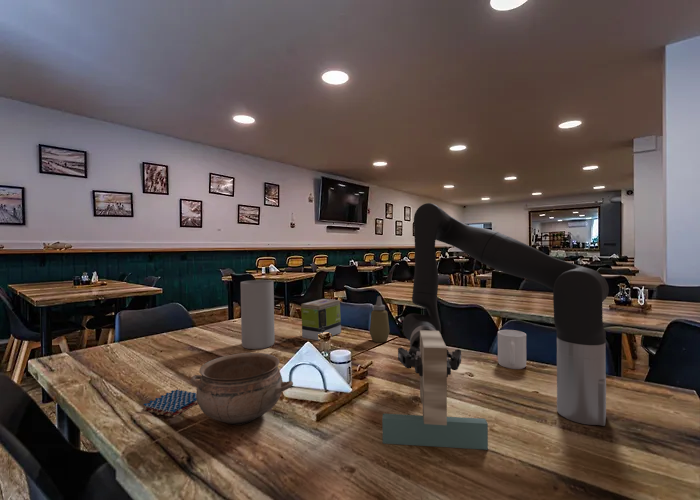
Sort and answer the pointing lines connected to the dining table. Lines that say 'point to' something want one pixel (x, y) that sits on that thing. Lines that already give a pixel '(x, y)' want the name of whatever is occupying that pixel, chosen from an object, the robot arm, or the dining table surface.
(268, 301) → the cylinder vase
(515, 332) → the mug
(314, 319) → the tea box
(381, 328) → the squeeze bottle
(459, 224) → the robot arm
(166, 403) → the woven mat
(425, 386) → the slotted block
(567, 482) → the dining table surface
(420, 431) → the rail
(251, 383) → the cooking pot
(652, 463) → the dining table surface
